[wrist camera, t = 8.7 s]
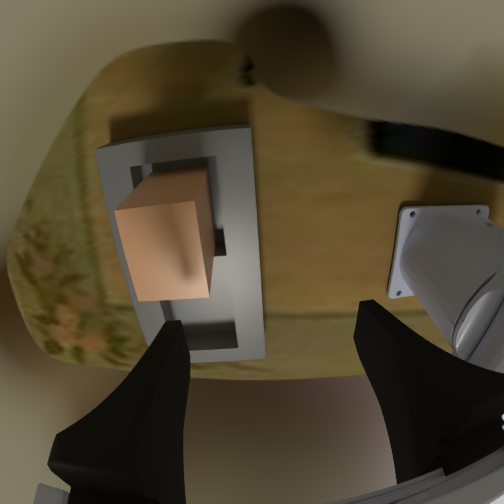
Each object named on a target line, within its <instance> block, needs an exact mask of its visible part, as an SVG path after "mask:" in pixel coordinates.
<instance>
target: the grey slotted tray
mask: <svg viewBox="0 0 504 504" xmlns="http://www.w3.org/2000/svg"><path fill="white" fill-rule="evenodd" d="M95 152H96V158H97V164H98V169H99V174H100V179H101V184H102V189H103V194H104V198H105V203H106V207H107V212H108V216H109V220H110V224H111V228H112V232H113V236H114V240H115V244H116V247H117V251H118V255H119V258H120V262H121V265H122V269H123V272H124V276H125V279H126V282H127V285H128V289H129V292H130V295H131V298H132V301H133V304H134V307H135V310H136V313H137V316H138V319H139V322H140V325H141V328H142V331H143V333H144V336H145V339H146V342H147V344H148V347H149V346H150V344H151V343H152V341H153V340H154V338H155V337H156V335H157V334H158V332H159V330H160V329H161V327H162V326H163V324H164V323H165V321H171V320H181V323H182V326H183V330H184V334H185V338H186V341H187V345H188V349H189V352H190V363H198V362H220V361H236V360H250V359H262V358H265V341H264V324H263V307H262V291H261V274H260V258H259V242H258V227H257V211H256V196H255V181H254V166H253V151H252V136H251V127H250V125H249V124H240V125H228V126H217V127H208V128H199V129H191V130H183V131H175V132H168V133H161V134H155V135H149V136H143V137H137V138H131V139H126V140H121V141H116V142H111V143H108V144H106V145H104V146H102V147H99V148H97V149H95ZM200 165H208V168H209V177H210V186H211V195H212V203H213V212H214V220H215V228H216V243H215V251H214V260H213V269H212V279H211V288H210V297H209V298H194V299H178V300H160V301H140V302H139V301H138V298H137V295H136V291H135V288H134V285H133V281H132V278H131V275H130V271H129V268H128V264H127V260H126V257H125V253H124V249H123V245H122V241H121V238H120V234H119V229H118V225H117V221H116V217H115V213H114V210H115V209H116V208H117V207H118V206H119V205H120V204H121V203H122V202H123V200H124V199H125V198H126V197H127V196H128V195H129V194H130V193H131V192H132V191H133V190H134V189H135V188H136V187H137V186H138V185H139V184H140V183H141V182H142V181H143V180H144V179H145V178H146V177H147V176H148V175H149V174H150V173H151V172H152V171H159V170H166V169H174V168H182V167H191V166H200Z"/></svg>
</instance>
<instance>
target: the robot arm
mask: <svg viewBox="0 0 504 504" xmlns="http://www.w3.org/2000/svg"><path fill="white" fill-rule="evenodd" d="M477 210H478V211H477ZM412 211H413V214H412V215H411V216H410V213H411V212H412ZM476 212H477V213H476ZM488 216H489V207H488V206H487V205H444V206H410V207H403V208H402V209H401V210H400V213H399V221H398V229H397V236H396V243H395V250H394V256H393V262H392V268H391V274H390V280H389V285H388V290H387V295H388V297H389V298H391V299H393V298H400V297H406V296H413V295H415V296H416V298H417V299H418V300H419V302H420V303H421V304H422V306H423V307H424V309H425V310H426V311H427V313H428V314H429V316H430V317H431V318H432V320H433V321H434V323H435V324H436V326H437V327H438V328H439V330H440V331H441V333H442V334H443V336H444V337H445V339H446V340H447V342H448V343H449V345H450V346H451V348H452V349H453V353H452V354H450V353H448V352H446V351H444V350H442V349H441V348H439V347H437V346H435V345H434V344H432V343H430V342H429V341H427V340H426V339H424V338H423V337H421V336H420V335H419V334H417V333H416V332H414V331H413V330H412V329H410V328H409V327H408V326H406V325H405V324H404V323H402V322H401V321H400V320H399V319H397V318H396V317H395V316H394V315H392V314H391V313H390V312H389V311H387V310H386V309H385V308H384V307H382V306H381V305H380V304H379V303H377V302H376V301H375V300H366V301H360V303H359V309H358V315H357V321H356V326H355V332H354V337H353V338H354V341H355V345H356V348H357V352H358V355H359V358H360V360H361V363H362V365H363V367H364V369H365V372H366V374H367V376H368V378H369V380H370V383H371V385H372V387H373V389H374V392H375V394H376V396H377V399H378V401H379V404H380V407H381V410H382V413H383V416H384V420H385V424H386V428H387V432H388V436H389V440H390V444H391V449H392V454H393V460H394V465H395V473H396V480H397V485H394V486H391V487H388V488H385V489H382V490H378V491H375V492H372V493H368V494H364V495H360V496H356V497H353V498H348V499H344V500H340V501H335V502H330V503H325V504H489V503H491V502H492V501H494V500H496V499H497V498H499V497H500V496H502V495H503V494H504V229H503V228H502V227H500V226H499V225H497V224H496V223H495V222H493V221H492V220H490V219H489V218H488ZM398 291H399V292H398ZM397 292H398V293H397ZM189 382H190V352H189V349H188V345H187V341H186V338H185V334H184V330H183V326H182V323H181V320H171V321H165V323H164V324H163V326H162V327H161V329H160V330H159V332H158V334H157V335H156V337H155V338H154V340H153V341H152V343H151V344H150V346H149V347H148V349H147V350H146V352H145V353H144V355H143V356H142V358H141V359H140V360H139V362H138V363H137V364H136V365H135V367H134V368H133V369H132V371H131V372H130V373H129V374H128V376H127V377H126V378H125V379H124V381H123V382H122V383H121V384H120V385H119V386H118V387H117V388H116V389H115V390H114V391H113V392H112V393H111V394H110V395H109V396H108V397H107V398H106V399H105V400H104V401H103V402H102V403H100V404H99V405H98V406H97V407H96V408H95V409H93V410H92V411H91V412H90V413H88V414H87V415H86V416H84V417H83V418H82V419H80V420H79V421H77V422H76V423H74V424H73V425H71V426H69V427H68V428H66V429H65V430H63V431H61V432H60V433H58V434H57V435H56V437H55V439H54V442H53V446H52V449H51V452H50V456H49V460H48V463H47V465H48V466H49V468H50V470H51V471H52V472H53V473H54V474H55V475H57V476H58V477H59V478H61V479H62V480H63V481H64V482H66V483H67V484H68V485H70V486H71V490H70V493H68V492H66V491H64V490H61V489H58V488H54V487H50V486H47V485H44V484H41V483H40V484H38V486H37V490H36V494H35V498H34V503H33V504H186V498H185V485H184V466H183V465H184V464H183V428H184V419H185V411H186V404H187V396H188V389H189Z"/></svg>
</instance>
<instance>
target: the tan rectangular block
mask: <svg viewBox="0 0 504 504" xmlns="http://www.w3.org/2000/svg"><path fill="white" fill-rule="evenodd" d="M114 213H115V217H116V221H117V225H118V229H119V234H120V238H121V241H122V245H123V249H124V253H125V257H126V260H127V264H128V268H129V271H130V275H131V278H132V281H133V285H134V288H135V291H136V295H137V298H138V301H139V302H140V301H160V300H178V299H194V298H209V297H210V288H211V279H212V269H213V260H214V251H215V243H216V228H215V220H214V212H213V203H212V195H211V186H210V177H209V168H208V165H200V166H191V167H182V168H174V169H166V170H159V171H152V172H151V173H150V174H149V175H148V176H147V177H146V178H145V179H144V180H143V181H142V182H141V183H140V184H139V185H138V186H137V187H136V188H135V189H134V190H133V191H132V192H131V193H130V194H129V195H128V196H127V197H126V198H125V199H124V200H123V202H122V203H121V204H120V205H119V206H118V207H117V208H116V209H115V210H114Z"/></svg>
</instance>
